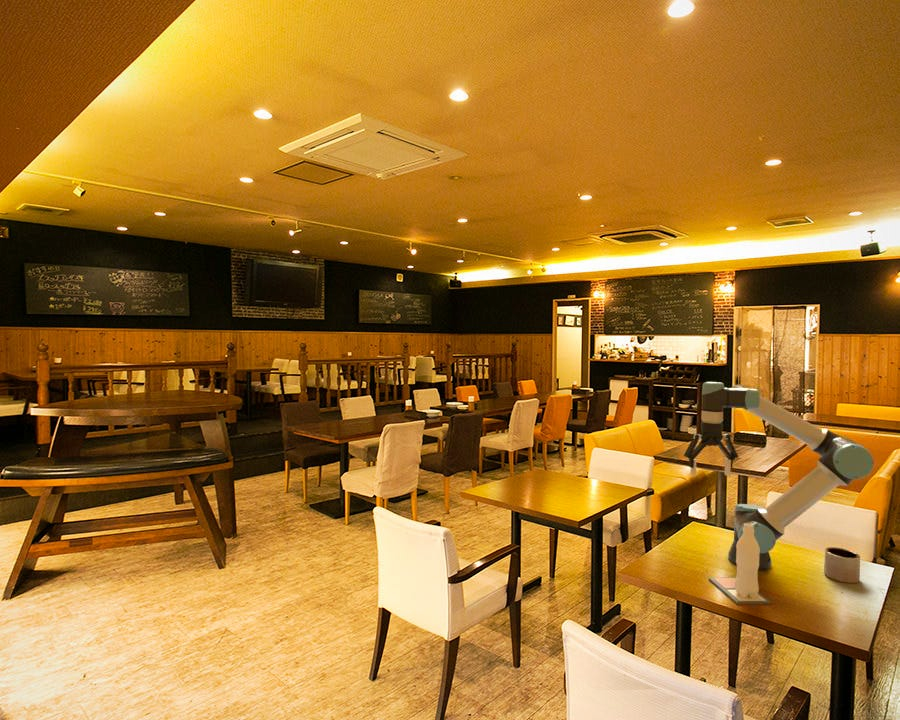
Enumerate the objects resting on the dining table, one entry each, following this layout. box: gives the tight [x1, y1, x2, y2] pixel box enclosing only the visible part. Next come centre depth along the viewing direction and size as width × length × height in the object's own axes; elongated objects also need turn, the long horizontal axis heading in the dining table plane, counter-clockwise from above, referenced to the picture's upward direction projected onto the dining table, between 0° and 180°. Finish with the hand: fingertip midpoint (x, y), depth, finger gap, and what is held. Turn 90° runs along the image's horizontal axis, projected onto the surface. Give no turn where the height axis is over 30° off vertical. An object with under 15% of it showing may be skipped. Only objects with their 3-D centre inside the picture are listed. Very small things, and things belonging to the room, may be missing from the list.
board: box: [708, 576, 772, 605], centre depth 186 cm, size 12×18×1 cm, turn 2°
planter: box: [823, 546, 861, 584], centre depth 197 cm, size 11×11×10 cm
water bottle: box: [735, 523, 760, 598], centre depth 181 cm, size 7×7×25 cm
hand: (710, 475), depth 203 cm, fingers open, 13 cm apart
